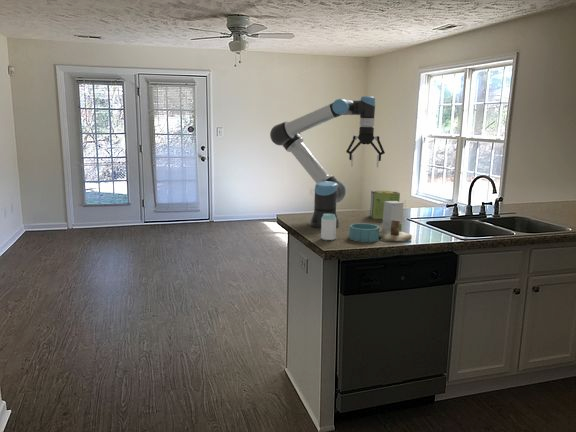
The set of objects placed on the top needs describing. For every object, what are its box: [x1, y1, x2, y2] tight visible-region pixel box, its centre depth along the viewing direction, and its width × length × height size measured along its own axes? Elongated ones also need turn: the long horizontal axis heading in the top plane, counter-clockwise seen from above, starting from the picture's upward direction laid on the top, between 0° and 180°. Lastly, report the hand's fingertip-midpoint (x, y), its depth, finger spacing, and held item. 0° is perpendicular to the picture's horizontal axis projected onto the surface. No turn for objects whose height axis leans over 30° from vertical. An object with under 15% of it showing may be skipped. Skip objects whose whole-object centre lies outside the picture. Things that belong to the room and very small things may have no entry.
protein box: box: [369, 190, 401, 220], centre depth 282 cm, size 10×15×16 cm
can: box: [320, 214, 337, 241], centre depth 226 cm, size 7×7×12 cm
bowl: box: [348, 222, 380, 243], centre depth 229 cm, size 14×14×6 cm
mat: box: [379, 238, 412, 243], centre depth 232 cm, size 14×14×1 cm
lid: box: [379, 220, 413, 242], centre depth 231 cm, size 16×16×8 cm
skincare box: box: [381, 201, 404, 232], centre depth 245 cm, size 8×7×16 cm
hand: (364, 166), depth 256 cm, fingers open, 13 cm apart
